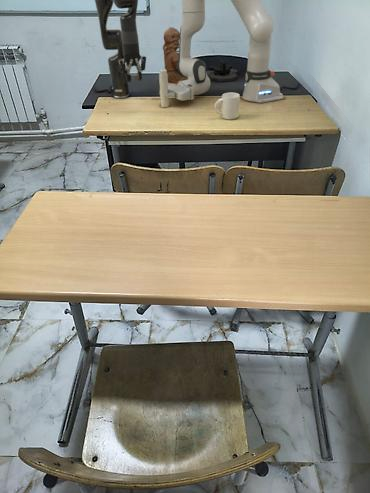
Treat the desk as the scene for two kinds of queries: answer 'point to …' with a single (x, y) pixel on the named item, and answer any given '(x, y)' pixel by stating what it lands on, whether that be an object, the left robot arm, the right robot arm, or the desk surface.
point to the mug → (229, 105)
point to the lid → (134, 76)
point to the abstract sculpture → (222, 72)
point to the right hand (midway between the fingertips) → (162, 94)
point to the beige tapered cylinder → (163, 88)
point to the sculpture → (172, 55)
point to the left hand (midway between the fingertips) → (134, 81)
